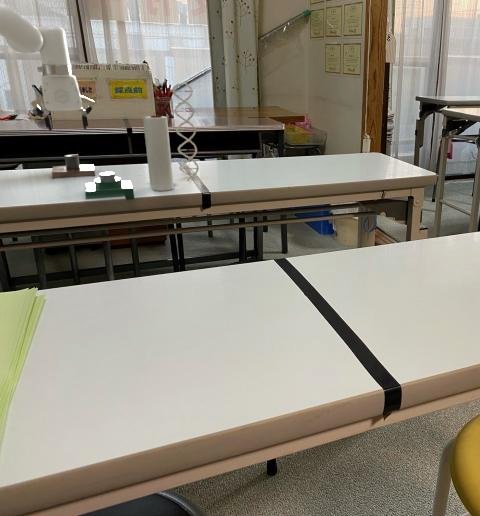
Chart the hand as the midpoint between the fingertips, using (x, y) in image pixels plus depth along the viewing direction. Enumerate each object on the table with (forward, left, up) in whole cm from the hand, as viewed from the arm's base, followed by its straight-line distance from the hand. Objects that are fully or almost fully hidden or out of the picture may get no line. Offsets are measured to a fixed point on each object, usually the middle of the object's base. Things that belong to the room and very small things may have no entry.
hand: (68, 129), depth 161 cm
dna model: (+34, -13, -16) cm, 39 cm away
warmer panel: (0, +1, -15) cm, 15 cm away
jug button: (+9, -29, -11) cm, 32 cm away
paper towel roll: (+24, -24, -16) cm, 37 cm away
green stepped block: (+9, -29, -15) cm, 34 cm away
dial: (0, +1, -12) cm, 12 cm away
